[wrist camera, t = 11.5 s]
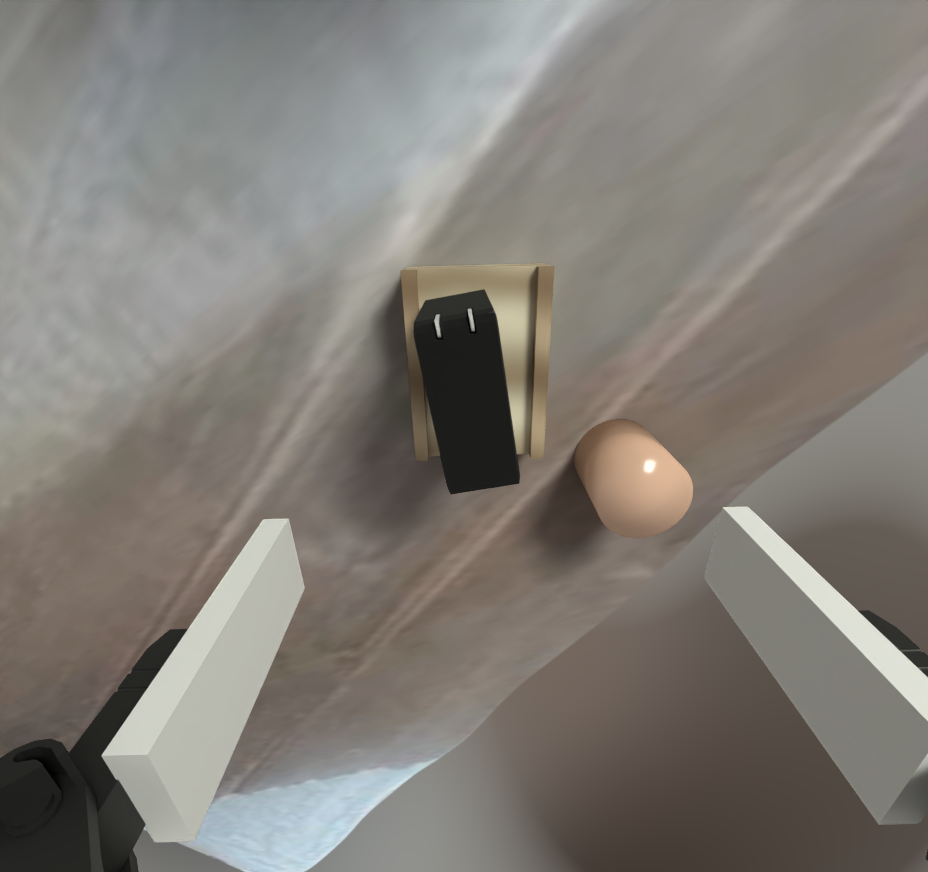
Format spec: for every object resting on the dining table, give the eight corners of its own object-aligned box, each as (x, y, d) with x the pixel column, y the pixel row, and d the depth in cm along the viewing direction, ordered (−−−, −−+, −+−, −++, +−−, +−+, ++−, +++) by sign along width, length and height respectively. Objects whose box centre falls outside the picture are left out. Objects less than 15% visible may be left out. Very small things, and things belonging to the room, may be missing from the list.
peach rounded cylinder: (577, 420, 37) (602, 458, 31) (660, 418, 37) (701, 455, 31) (571, 491, 40) (592, 539, 34) (648, 488, 40) (683, 536, 34)
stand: (406, 267, 32) (400, 270, 29) (543, 263, 32) (554, 266, 29) (419, 440, 38) (415, 461, 34) (535, 437, 38) (543, 457, 34)
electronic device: (452, 430, 34) (449, 500, 25) (424, 298, 30) (410, 325, 21) (505, 421, 34) (522, 489, 25) (485, 287, 30) (496, 310, 21)
